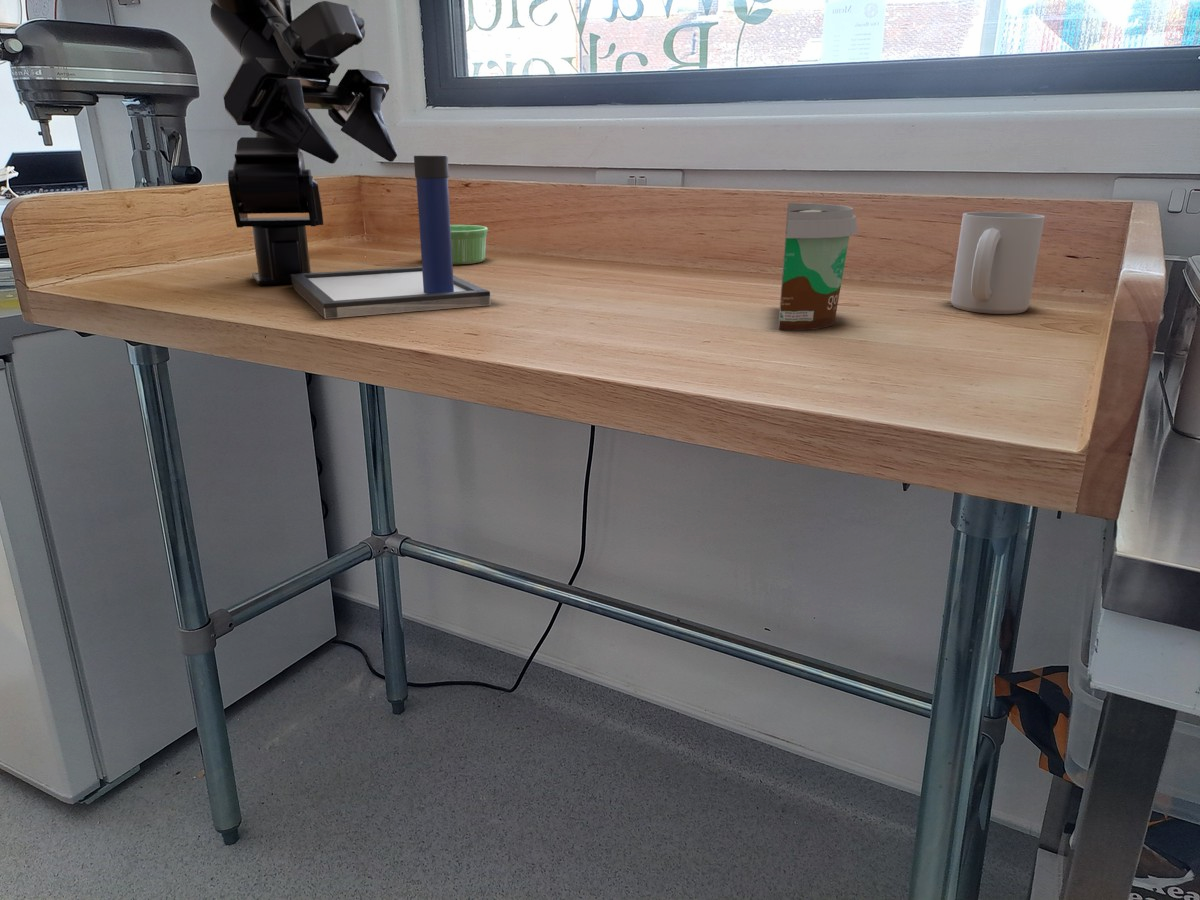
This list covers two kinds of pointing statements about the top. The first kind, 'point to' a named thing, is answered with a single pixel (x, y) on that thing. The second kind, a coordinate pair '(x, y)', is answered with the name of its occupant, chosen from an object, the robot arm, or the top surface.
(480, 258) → the ramekin
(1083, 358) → the top surface
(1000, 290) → the cup
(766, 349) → the top surface
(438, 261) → the marker
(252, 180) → the robot arm
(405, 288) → the whiteboard
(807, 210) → the food container
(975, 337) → the top surface
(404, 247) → the top surface
